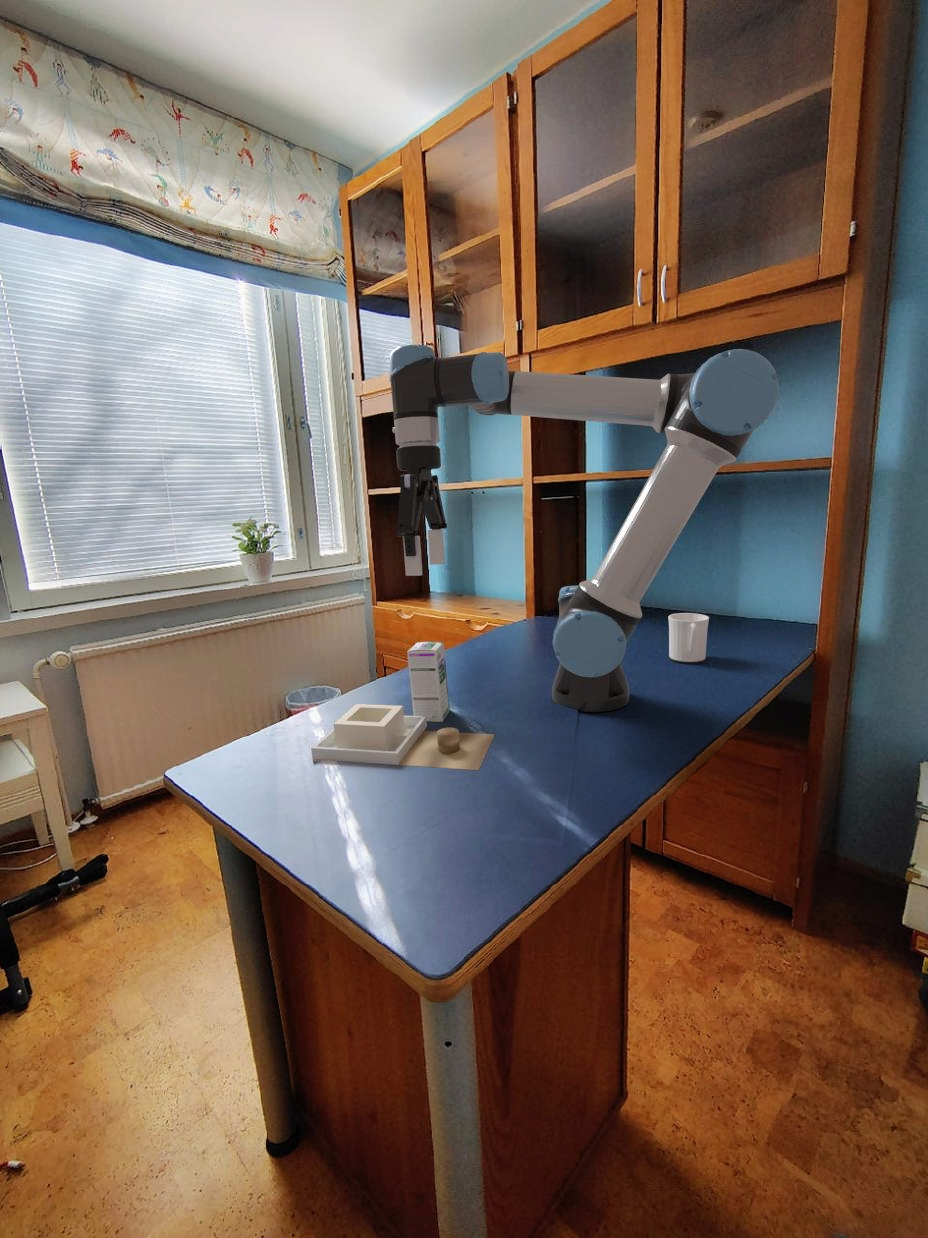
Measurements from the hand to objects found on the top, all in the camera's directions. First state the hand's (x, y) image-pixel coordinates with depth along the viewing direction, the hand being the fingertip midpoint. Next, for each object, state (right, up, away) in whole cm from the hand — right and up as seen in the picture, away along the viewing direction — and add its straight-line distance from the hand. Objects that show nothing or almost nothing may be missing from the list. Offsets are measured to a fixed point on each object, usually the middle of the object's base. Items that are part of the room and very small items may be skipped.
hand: (426, 569), depth 102 cm
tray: (-9, -31, -3) cm, 32 cm away
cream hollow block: (-8, -30, -3) cm, 31 cm away
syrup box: (+1, -28, +7) cm, 29 cm away
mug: (+60, -19, +33) cm, 71 cm away
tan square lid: (+4, -31, -7) cm, 32 cm away
